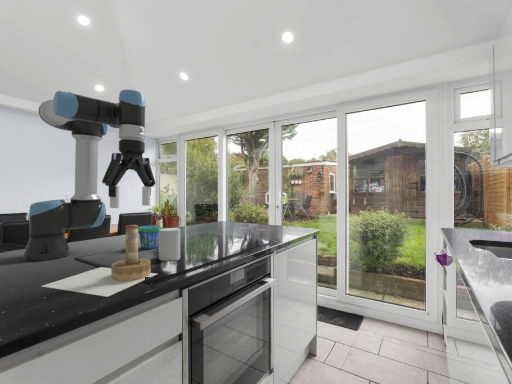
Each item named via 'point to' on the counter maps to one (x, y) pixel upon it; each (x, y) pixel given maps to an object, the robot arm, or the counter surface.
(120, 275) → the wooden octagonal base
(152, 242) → the snack cup
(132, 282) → the mat
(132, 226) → the beige cylinder
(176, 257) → the grey rounded block
